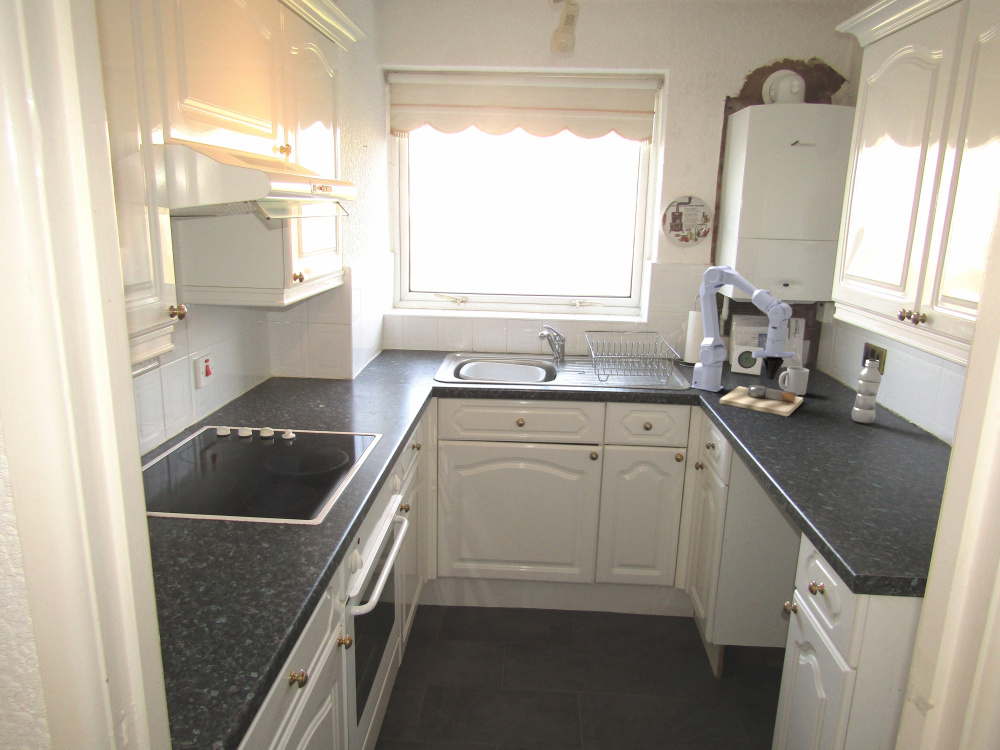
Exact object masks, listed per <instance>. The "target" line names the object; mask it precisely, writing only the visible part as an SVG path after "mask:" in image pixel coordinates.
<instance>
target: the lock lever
mask: <svg viewBox="0 0 1000 750" xmlns="http://www.w3.org/2000/svg"><path fill="white" fill-rule="evenodd" d="M748 388H749V389H748V396H750V397H754V398H768V399H774V400H780V401H786V402H792V403H794V402H795V396H796V397H797V395H796V393H793V392H787V391H784V390H779V389H775V388H768V387H766V386H764V385H759V384H750V385H748Z"/></svg>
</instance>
